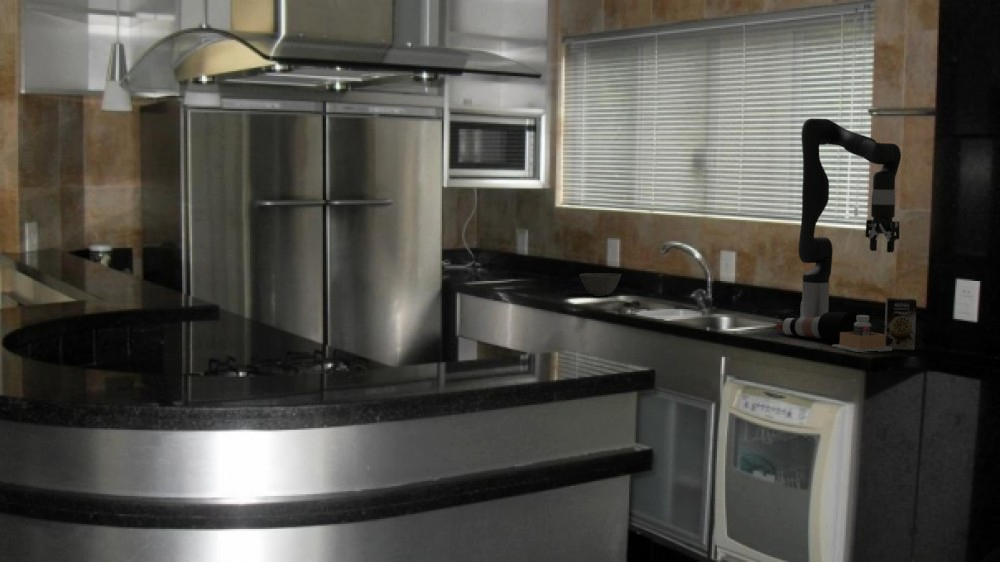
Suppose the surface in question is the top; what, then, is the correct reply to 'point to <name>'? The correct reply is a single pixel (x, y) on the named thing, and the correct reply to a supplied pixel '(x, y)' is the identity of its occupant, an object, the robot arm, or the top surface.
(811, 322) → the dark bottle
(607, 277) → the bowl
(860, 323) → the pill bottle
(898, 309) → the cookie box
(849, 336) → the end holder
